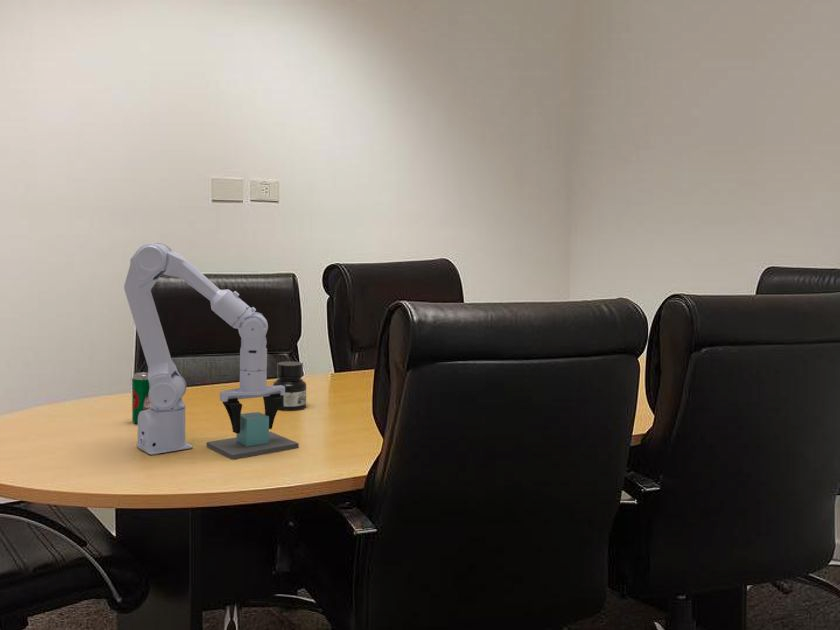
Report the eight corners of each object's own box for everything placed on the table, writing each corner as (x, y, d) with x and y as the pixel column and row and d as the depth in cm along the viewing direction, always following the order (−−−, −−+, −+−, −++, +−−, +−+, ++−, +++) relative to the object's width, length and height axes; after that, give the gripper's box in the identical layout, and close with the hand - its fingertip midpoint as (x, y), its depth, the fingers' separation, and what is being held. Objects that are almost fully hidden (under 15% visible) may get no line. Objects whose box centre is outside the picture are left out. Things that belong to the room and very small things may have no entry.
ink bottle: (289, 413, 205) (290, 367, 204) (264, 408, 209) (265, 363, 208) (313, 406, 213) (314, 363, 212) (288, 402, 218) (289, 359, 216)
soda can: (147, 425, 187) (146, 376, 186) (128, 424, 188) (127, 375, 187) (158, 420, 192) (158, 372, 191) (139, 419, 193) (139, 371, 192)
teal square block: (246, 446, 168) (246, 419, 168) (236, 441, 172) (236, 414, 172) (268, 443, 171) (269, 416, 171) (258, 437, 175) (258, 411, 175)
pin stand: (232, 459, 162) (232, 429, 161) (206, 446, 171) (206, 417, 170) (298, 447, 173) (298, 418, 172) (270, 435, 182) (271, 408, 181)
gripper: (275, 363, 178) (274, 422, 179) (214, 368, 169) (213, 430, 170) (289, 368, 172) (288, 429, 173) (227, 374, 163) (227, 437, 165)
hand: (252, 430), depth 171 cm, fingers open, 7 cm apart
